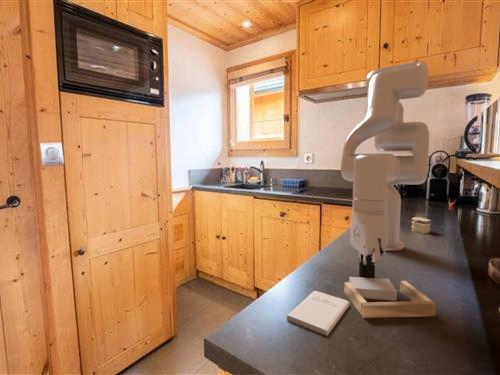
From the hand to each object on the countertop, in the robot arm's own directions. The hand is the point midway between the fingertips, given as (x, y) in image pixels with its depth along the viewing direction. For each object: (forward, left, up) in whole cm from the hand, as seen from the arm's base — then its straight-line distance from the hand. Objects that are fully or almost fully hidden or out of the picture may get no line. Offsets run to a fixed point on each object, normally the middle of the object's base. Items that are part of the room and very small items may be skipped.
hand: (366, 278), depth 68 cm
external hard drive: (+12, -15, -2) cm, 19 cm away
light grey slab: (+4, -1, -2) cm, 5 cm away
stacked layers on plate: (-46, +44, -2) cm, 63 cm away
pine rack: (+9, 0, -1) cm, 9 cm away
